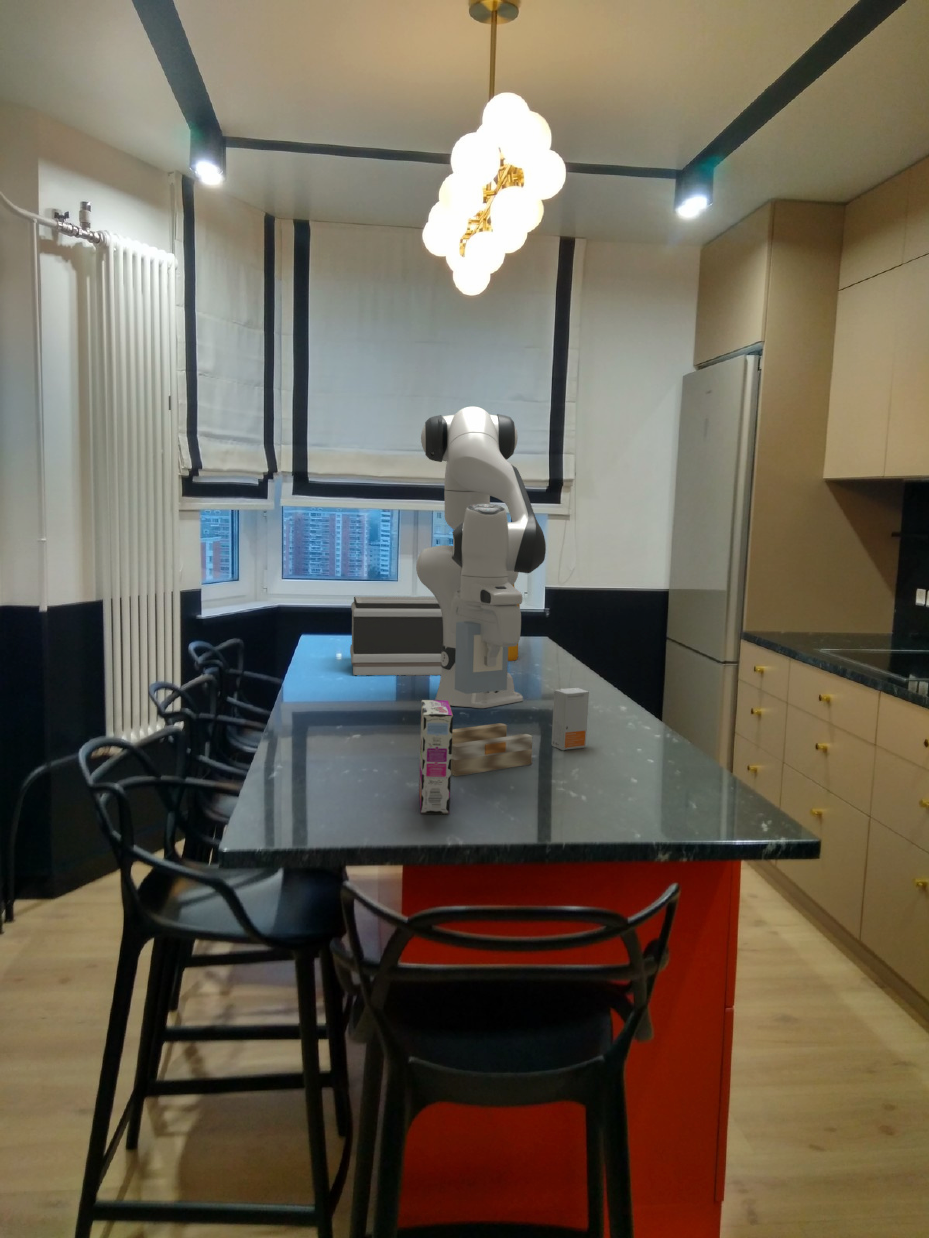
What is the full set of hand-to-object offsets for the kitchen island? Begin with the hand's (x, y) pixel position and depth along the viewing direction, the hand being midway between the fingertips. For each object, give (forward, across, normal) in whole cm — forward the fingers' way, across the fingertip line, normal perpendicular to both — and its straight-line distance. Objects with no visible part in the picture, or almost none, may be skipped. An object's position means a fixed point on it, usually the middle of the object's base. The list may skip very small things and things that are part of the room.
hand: (481, 663), depth 164 cm
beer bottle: (+19, -92, +66) cm, 115 cm away
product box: (+5, 0, 0) cm, 5 cm away
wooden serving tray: (+19, 0, 0) cm, 19 cm away
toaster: (+19, -88, +29) cm, 94 cm away
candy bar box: (+20, +16, -18) cm, 31 cm away
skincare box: (+20, -1, +23) cm, 30 cm away
